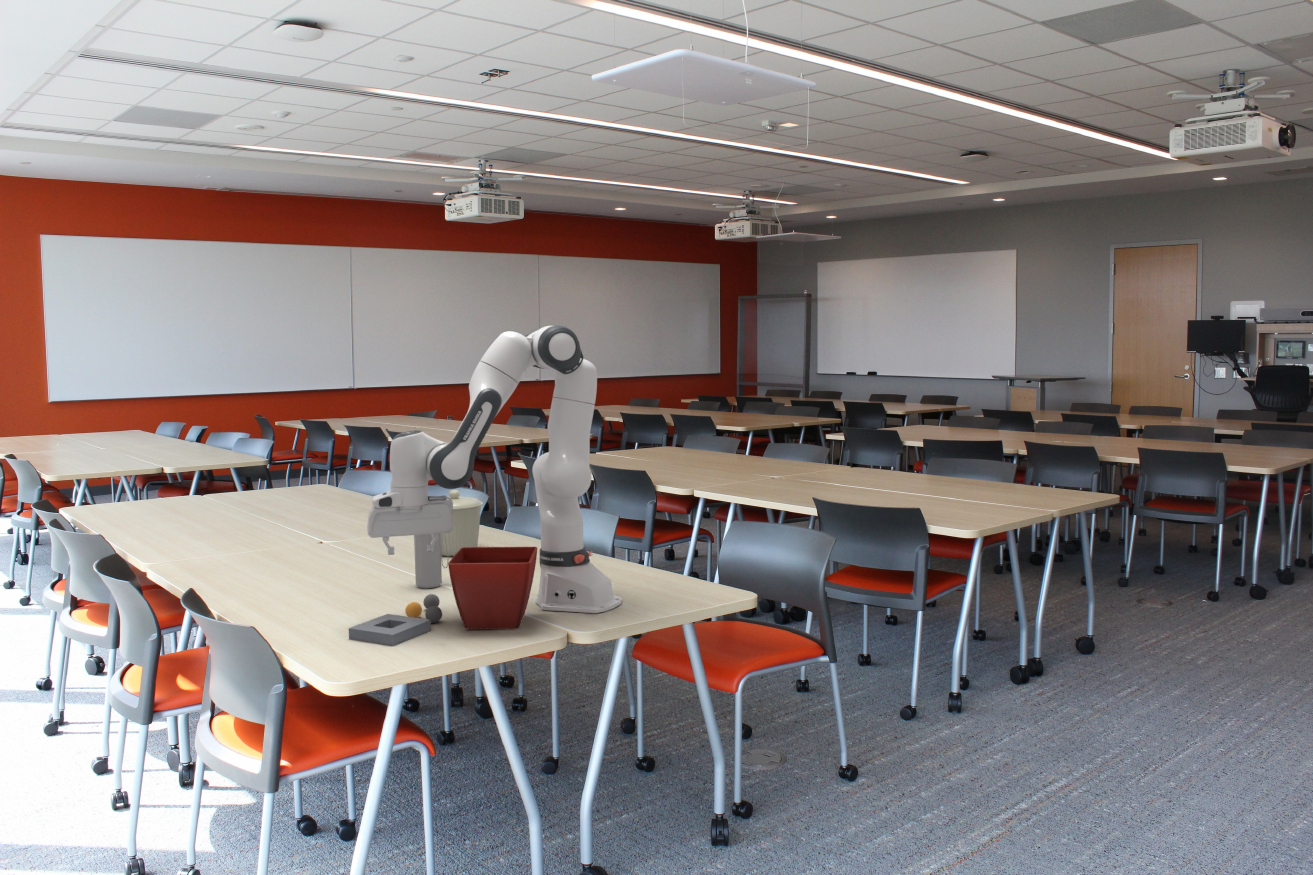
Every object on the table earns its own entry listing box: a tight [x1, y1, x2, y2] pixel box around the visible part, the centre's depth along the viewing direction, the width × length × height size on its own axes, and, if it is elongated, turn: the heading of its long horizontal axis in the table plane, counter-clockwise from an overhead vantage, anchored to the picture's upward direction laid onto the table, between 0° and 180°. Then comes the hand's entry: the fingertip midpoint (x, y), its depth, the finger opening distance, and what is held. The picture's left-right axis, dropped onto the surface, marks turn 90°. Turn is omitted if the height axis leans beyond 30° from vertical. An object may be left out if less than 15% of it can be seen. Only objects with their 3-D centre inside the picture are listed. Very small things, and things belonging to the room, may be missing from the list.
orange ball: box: [404, 601, 423, 618], centre depth 232 cm, size 4×4×4 cm
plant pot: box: [448, 546, 538, 630], centre depth 227 cm, size 19×19×17 cm
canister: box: [440, 489, 484, 557], centre depth 307 cm, size 18×18×21 cm
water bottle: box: [413, 500, 449, 590], centre depth 264 cm, size 9×8×25 cm
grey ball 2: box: [424, 606, 443, 624], centre depth 228 cm, size 4×4×4 cm
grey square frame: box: [348, 613, 432, 646], centre depth 219 cm, size 13×13×2 cm
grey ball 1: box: [423, 593, 441, 610], centre depth 240 cm, size 4×4×4 cm
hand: (411, 553), depth 231 cm, fingers open, 8 cm apart
